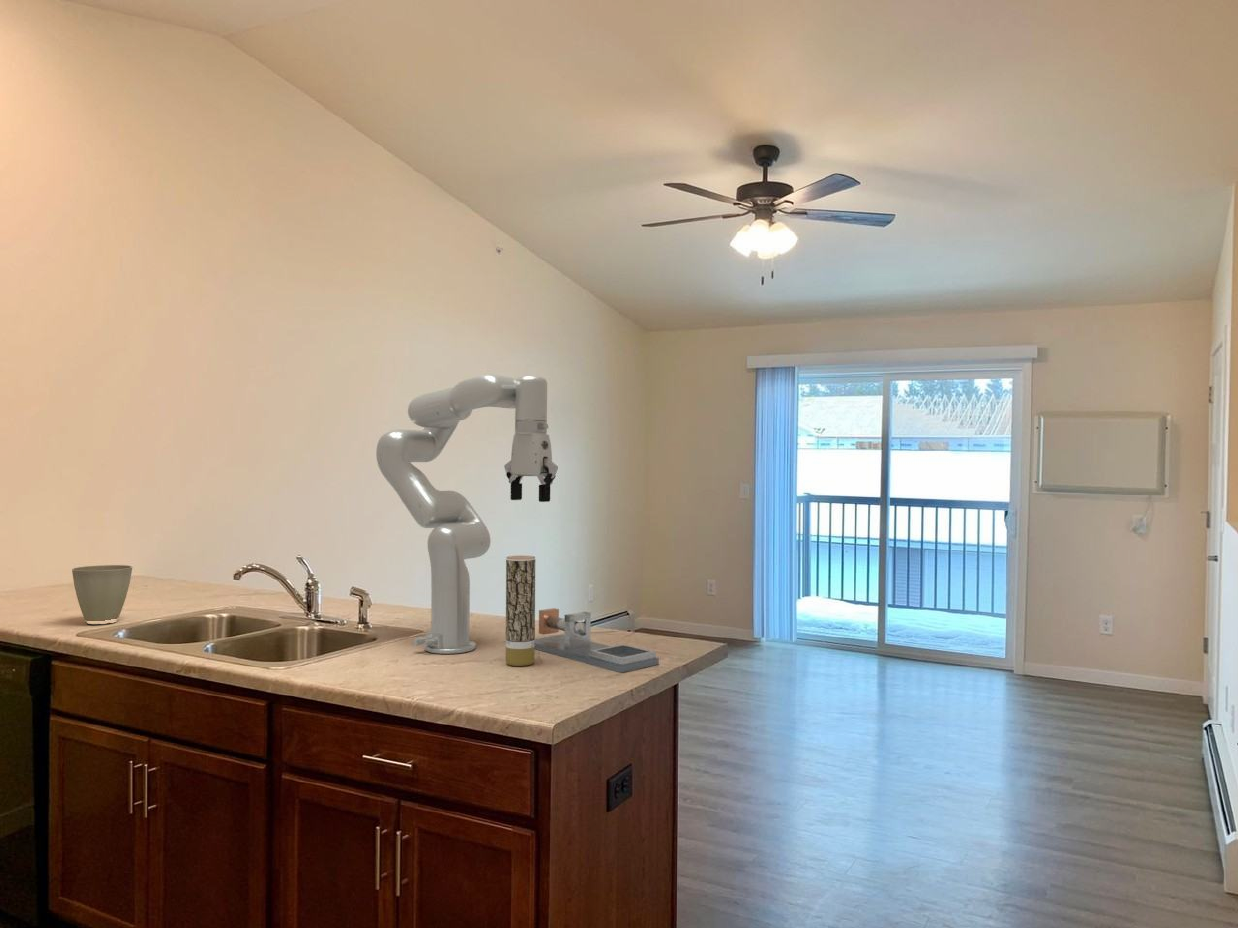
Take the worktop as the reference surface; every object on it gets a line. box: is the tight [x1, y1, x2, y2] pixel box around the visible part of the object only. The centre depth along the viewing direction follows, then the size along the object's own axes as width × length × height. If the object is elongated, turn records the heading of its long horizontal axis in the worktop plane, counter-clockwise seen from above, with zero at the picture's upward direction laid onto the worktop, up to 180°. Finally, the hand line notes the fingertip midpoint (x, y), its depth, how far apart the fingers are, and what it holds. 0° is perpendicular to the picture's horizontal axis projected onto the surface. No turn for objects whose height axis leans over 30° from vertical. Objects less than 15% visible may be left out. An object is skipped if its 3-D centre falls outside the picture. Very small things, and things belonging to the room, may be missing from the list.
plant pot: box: [71, 564, 133, 622], centre depth 245 cm, size 15×15×16 cm
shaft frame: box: [535, 611, 660, 674], centre depth 210 cm, size 12×36×10 cm, turn 43°
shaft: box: [538, 607, 586, 636], centre depth 217 cm, size 5×14×6 cm, turn 43°
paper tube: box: [505, 555, 536, 667], centre depth 200 cm, size 7×7×25 cm
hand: (530, 500), depth 203 cm, fingers open, 9 cm apart
